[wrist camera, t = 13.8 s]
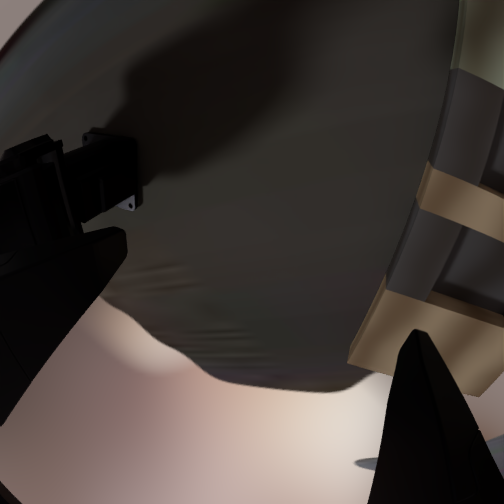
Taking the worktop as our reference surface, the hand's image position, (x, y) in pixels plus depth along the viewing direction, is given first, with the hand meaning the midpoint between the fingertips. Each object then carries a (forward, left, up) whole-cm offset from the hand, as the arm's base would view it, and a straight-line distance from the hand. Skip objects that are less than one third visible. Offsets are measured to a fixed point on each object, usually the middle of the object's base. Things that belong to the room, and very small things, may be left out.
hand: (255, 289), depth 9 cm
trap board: (+13, +1, -13) cm, 18 cm away
